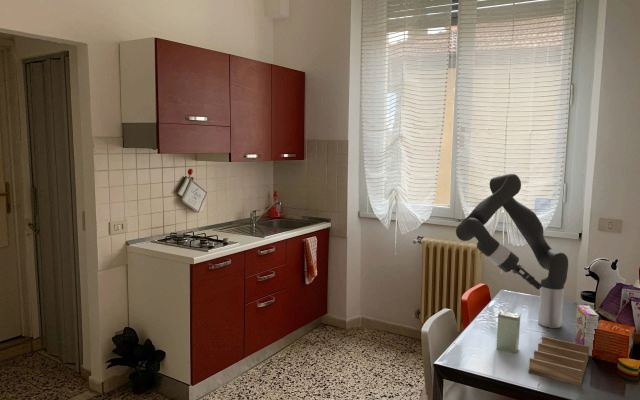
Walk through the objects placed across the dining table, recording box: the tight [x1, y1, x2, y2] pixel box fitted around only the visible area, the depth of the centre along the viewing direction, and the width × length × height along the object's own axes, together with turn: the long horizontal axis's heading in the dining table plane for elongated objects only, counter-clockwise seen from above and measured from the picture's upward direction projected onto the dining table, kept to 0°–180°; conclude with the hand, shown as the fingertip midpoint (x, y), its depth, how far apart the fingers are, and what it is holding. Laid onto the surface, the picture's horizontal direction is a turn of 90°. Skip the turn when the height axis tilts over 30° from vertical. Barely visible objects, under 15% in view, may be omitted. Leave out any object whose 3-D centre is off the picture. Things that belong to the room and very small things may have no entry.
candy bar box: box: [573, 304, 600, 357], centre depth 188 cm, size 11×5×16 cm, turn 168°
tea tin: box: [496, 310, 522, 354], centre depth 189 cm, size 5×7×14 cm
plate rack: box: [528, 336, 590, 387], centre depth 175 cm, size 25×16×5 cm, turn 146°
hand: (536, 285), depth 184 cm, fingers open, 8 cm apart
